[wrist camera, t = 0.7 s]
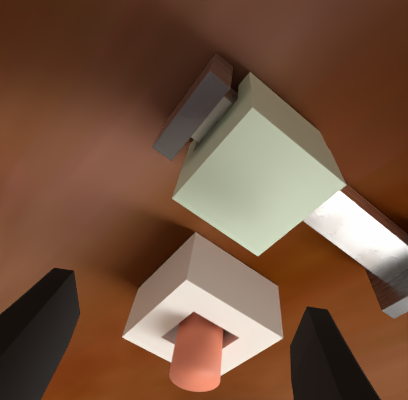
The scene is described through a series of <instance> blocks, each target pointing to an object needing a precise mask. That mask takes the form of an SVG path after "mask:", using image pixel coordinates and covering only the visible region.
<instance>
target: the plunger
mask: <svg viewBox="0 0 408 400" xmlns="http://www.w3.org/2000/svg"><path fill="white" fill-rule="evenodd" d="M222 343H223V328H222V327H220V326H218V325H216V324H215V323H213V322H211V321H209V320H208V319H206V318H204V317H202V316H201V315H199V314H197V313H196V312H192V313H191V314H190V315H189V316H187V317H186V318H185V319H184V320H182V321H181V322H180V323H179V325H178V330H177V335H176V340H175V346H174V351H173V356H172V362H171V367H170V372H169V377H170V379H171V381H172V382H173V383H174V384H175V385H177V386H178V387H180V388H182V389H185V390H189V391H194V392H205V391H210V390H212V389H214V388H216V387H217V386H218V385H219V383H220V376H221V360H222Z"/></svg>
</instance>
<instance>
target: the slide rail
mask: <svg viewBox="0 0 408 400" xmlns="http://www.w3.org/2000/svg"><path fill="white" fill-rule="evenodd" d="M232 73H233V66H232V65H231V64H229V63H228V62H227V61H226V60H225V59H223V58H222V57H221V56H220V55H219V54H218V53H215V55H214V56H213V57H212V59H211V60H210V62H209V63H208V64H207V66H206V67H205V68H204V70H203V71H202V72H201V74H200V75H199V76H198V78H197V79H196V80H195V82H194V83H193V85H192V86H191V87H190V89H189V90H188V91H187V93H186V94H185V95H184V97H183V98H182V99H181V101H180V102H179V103H178V105H177V106H176V107H175V109H174V110H173V112H172V113H171V114H170V116H169V117H168V118H167V120H166V122H165V124H164V126H163V128H162V130H161V132H160V133H159V135H158V137H157V139H156V141H155V143H154V145H153V147H152V148H154V149H155V150H157V151H158V152H159V153H161V154H162V155H164V156H165V157H166V158H168V159H169V160H171V161H172V160H173V158H174V157H175V156H176V155H177V153H178V152H179V151H180V150H181V149H182V147H183V146H184V145H185V144H186V142H187V141H188V140H189V139H190V137H191V138H193V139H194V140H196V141H197V142H198V143H201V142H202V141H203V140H204V139H205V137H206V136H207V135H208V134H209V133H210V131H211V130H212V129H213V128H214V127H215V126H216V124H217V123H218V122H219V121H220V120H221V118H222V117H223V116H224V115H225V114H226V112H227V111H228V110H229V109H230V108H231V107H232V105H233V104H234V103H235V102H236V101H237V99H238V93H237V92H235V91H234V90H233V89H232V88H231V81H232ZM303 221H304V222H305V223H307V224H308V225H309V226H311V227H312V228H313V229H315V230H316V231H317V232H319V233H320V234H321V235H323V236H324V237H325V238H327V239H328V240H329V241H331V242H332V243H333V244H335V245H336V246H337V247H339V248H340V249H341V250H343V251H344V252H346V253H347V254H348V255H350V256H351V257H352V258H354V259H355V260H356V261H358V262H359V263H360V264H362V265H363V266H364V267H365V270H366V272H367V275H368V277H369V280H370V282H371V285H372V287H373V289H374V292H375V294H376V297H377V299H378V302H379V304H380V307H381V309H382V311H383V312H385V313H386V314H388V315H389V316H390V317H392V318H393V319H394V318H396V317H398V316H400V315H402V314H404V313H406V312H408V234H407V233H406V232H405V231H403V230H402V229H401V228H400V227H399V226H397V225H396V224H395V223H394V222H393V221H391V220H390V219H389V218H388V217H387V216H385V215H384V214H383V213H382V212H380V211H379V210H378V209H377V208H376V207H374V206H373V205H372V204H371V203H370V202H368V201H367V200H366V199H365V198H364V197H362V196H361V195H360V194H359V193H357V192H356V191H355V190H354V189H353V188H351V187H350V186H349V185H348V184H347V183H346V186H345V187H343V188H342V189H341V190H340V191H338V192H337V193H336V194H335V195H333V196H332V197H331V198H330V199H328V200H327V201H326V202H325V203H324V204H322V205H321V206H320V207H319V208H317V209H316V210H315V211H314V212H312V213H311V214H310V215H309V216H307V217H306V218H305V219H304V220H303Z"/></svg>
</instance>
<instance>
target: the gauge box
mask: <svg viewBox="0 0 408 400" xmlns="http://www.w3.org/2000/svg"><path fill="white" fill-rule="evenodd" d="M192 312H196V313H197V314H199V315H201V316H202V317H204V318H206V319H208V320H209V321H211V322H213V323H215V324H216V325H218V326H220V327H222V328H223V343H222V360H221V375H223V374H225V373H226V372H228V371H230V370H231V369H233V368H234V367H236V366H238V365H239V364H241V363H243V362H244V361H246V360H248V359H249V358H251V357H253V356H254V355H256V354H258V353H259V352H261V351H263V350H264V349H266V348H268V347H269V346H271V345H273V344H274V343H276V342H278V341H279V340H281V339H283V331H282V321H281V312H280V302H279V292H278V286H277V285H276V284H274V283H272V282H271V281H269V280H268V279H266V278H265V277H263V276H262V275H260V274H259V273H257V272H256V271H254V270H253V269H251V268H250V267H248V266H247V265H245V264H244V263H242V262H240V261H239V260H237V259H236V258H234V257H233V256H231V255H230V254H228V253H227V252H225V251H224V250H222V249H221V248H219V247H218V246H216V245H215V244H213V243H212V242H210V241H209V240H207V239H205V238H204V237H202V236H201V235H199V234H198V233H196V232H195V233H194V234H193V235H192V236H191V237H190V238H189V239H188V240H187V241H186V242H185V243H184V244H183V245H182V246H181V247H180V248H179V249H178V250H177V251H176V252H175V253H174V254H173V255H172V256H171V257H170V258H169V259H168V260H167V261H166V262H165V263H164V264H163V265H162V266H161V267H160V268H159V269H158V270H157V271H156V272H155V273H153V274H152V275H151V276H150V277H149V278H148V279H147V280H146V281H145V282H144V283H143V284H142V285H141V286H140V287H139V288H138V291H137V294H136V297H135V300H134V303H133V306H132V309H131V312H130V315H129V318H128V321H127V324H126V327H125V329H124V332H123V335H122V337H123V338H125V339H127V340H128V341H130V342H132V343H134V344H136V345H138V346H140V347H142V348H144V349H146V350H148V351H150V352H152V353H154V354H156V355H158V356H159V357H161V358H163V359H165V360H167V361H169V362H172V356H173V351H174V346H175V340H176V335H177V330H178V325H179V323H180V322H181V321H182V320H184V319H185V318H186V317H187V316H189V315H190V314H191V313H192Z"/></svg>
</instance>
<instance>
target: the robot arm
mask: <svg viewBox="0 0 408 400" xmlns="http://www.w3.org/2000/svg"><path fill="white" fill-rule="evenodd" d="M79 315H80V309H79V302H78V295H77V288H76V282H75V275H74V271H72V270H66V269H59V268H54V269H52V270H51V271H50V272H49V273H47V274H46V275H45V276H44V277H43V278H42V279H41V280H40V281H38V282H37V283H36V284H35V285H34V286H33V287H32V288H31V289H29V290H28V291H27V292H26V293H25V294H24V295H22V296H21V297H20V298H19V299H18V300H17V301H16V302H14V303H13V304H12V305H11V306H10V307H8V308H7V309H6V310H5V311H4V312H2V313H1V314H0V400H41V398H42V396H43V394H44V392H45V390H46V388H47V386H48V384H49V382H50V380H51V378H52V377H53V375H54V373H55V371H56V369H57V367H58V365H59V363H60V361H61V359H62V357H63V355H64V353H65V351H66V349H67V347H68V345H69V342H70V339H71V337H72V334H73V332H74V329H75V326H76V323H77V321H78V318H79ZM290 358H291V381H292V388H293V395H294V400H381V399H380V398H379V396H378V395H377V393H376V392H375V390H374V388H373V387H372V385H371V384H370V382H369V380H368V379H367V377H366V375H365V374H364V372H363V371H362V369H361V367H360V366H359V364H358V362H357V361H356V359H355V357H354V356H353V354H352V352H351V350H350V349H349V347H348V345H347V343H346V342H345V340H344V338H343V336H342V335H341V333H340V331H339V329H338V327H337V326H336V324H335V322H334V320H333V318H332V316H331V315H330V313H329V311H328V310H327V309H320V308H314V307H307V308H306V310H305V312H304V315H303V317H302V319H301V322H300V324H299V327H298V329H297V331H296V334H295V336H294V338H293V341H292V343H291V345H290Z"/></svg>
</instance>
